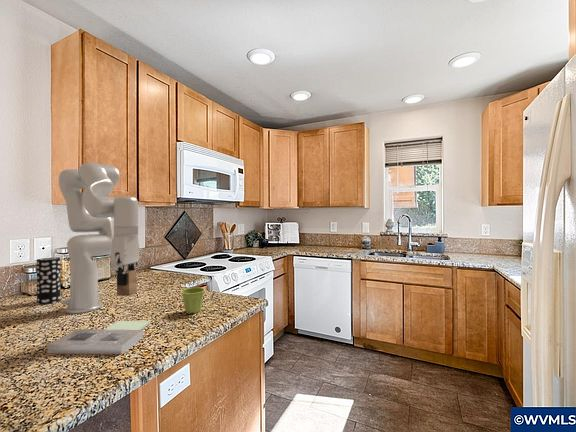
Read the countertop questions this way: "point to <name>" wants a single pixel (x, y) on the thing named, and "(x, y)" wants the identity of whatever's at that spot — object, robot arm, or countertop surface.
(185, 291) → the plant pot
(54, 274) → the spotted tube
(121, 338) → the socket plate
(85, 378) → the countertop surface
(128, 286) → the walnut block
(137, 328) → the sage pad
